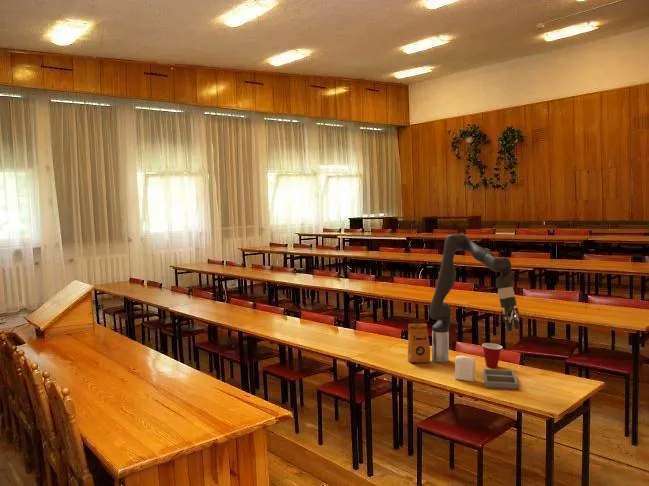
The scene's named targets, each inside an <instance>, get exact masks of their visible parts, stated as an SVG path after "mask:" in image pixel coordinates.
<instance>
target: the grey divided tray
mask: <svg viewBox="0 0 649 486" xmlns="http://www.w3.org/2000/svg"><path fill="white" fill-rule="evenodd" d="M482 370H483V371H482V372H483V380H484V386H485V389H496V390H497V389H499V390H511V391H512V390H513V391H514V390H517V391H518V390H519V382H518V380H517V377H516V374H515V370H512V369H511V370H510V369H496V368H483V369H482Z"/></svg>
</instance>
